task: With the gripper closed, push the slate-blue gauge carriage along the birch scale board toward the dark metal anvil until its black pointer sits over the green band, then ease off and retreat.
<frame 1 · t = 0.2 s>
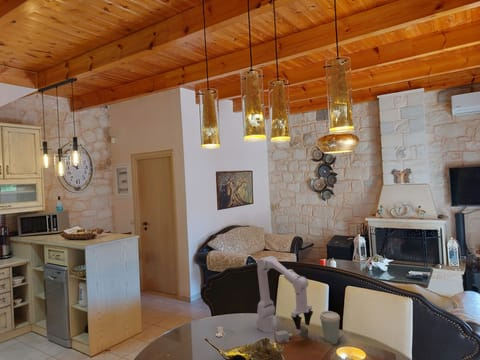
hand: (302, 326, 178), 10 cm above the table, fingers open, 7 cm apart
teacup and saucer: (215, 336, 197), on the table
scale board: (291, 341, 184), on the table
gauge carriage: (285, 336, 182), point 3 cm above the table, slide at 0.0 cm
disposable coffee cup: (331, 342, 180), on the table
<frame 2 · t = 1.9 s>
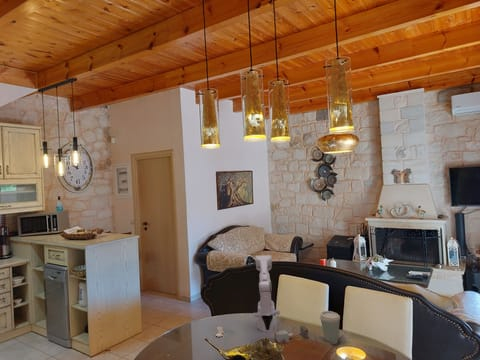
hand: (267, 329, 181), 8 cm above the table, fingers closed
nothing on the table moved.
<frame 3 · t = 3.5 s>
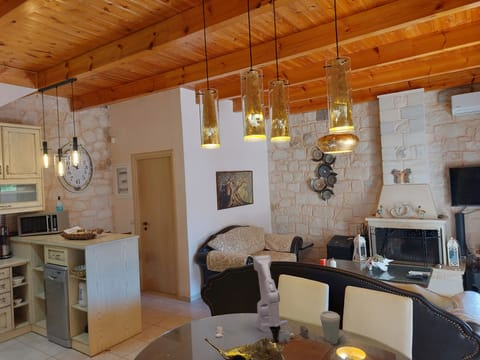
hand: (275, 339, 182), 2 cm above the table, fingers closed
gauge carriage: (286, 336, 182), point 3 cm above the table, slide at 0.6 cm, touching gripper
everything else where it was.
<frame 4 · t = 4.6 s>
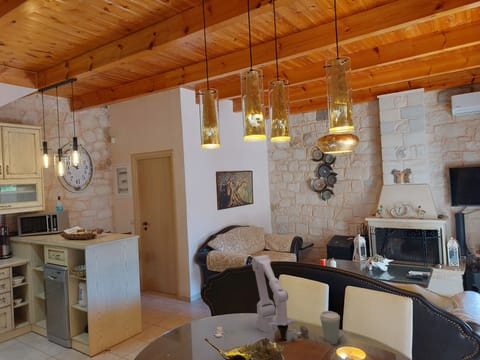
hand: (283, 338, 183), 2 cm above the table, fingers closed
gauge carriage: (294, 335, 183), point 3 cm above the table, slide at 5.1 cm, touching gripper
everything else where it was.
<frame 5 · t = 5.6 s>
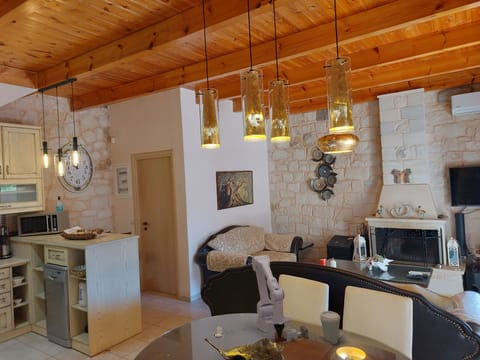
hand: (279, 337, 182), 3 cm above the table, fingers closed
gauge carriage: (294, 335, 183), point 3 cm above the table, slide at 5.1 cm
everything else where it was.
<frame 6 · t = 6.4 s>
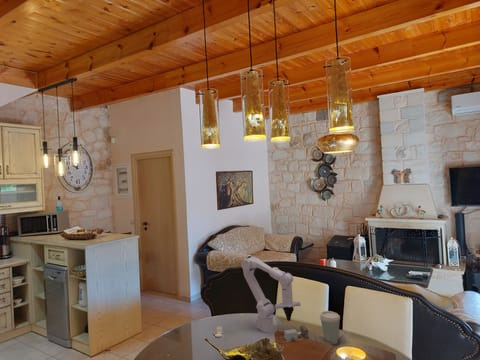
hand: (288, 320, 189), 9 cm above the table, fingers closed
nothing on the table moved.
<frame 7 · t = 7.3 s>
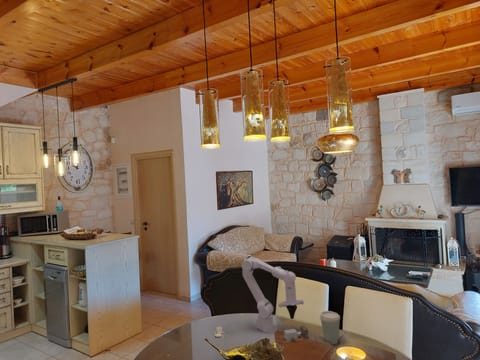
hand: (292, 318, 192), 9 cm above the table, fingers closed
nothing on the table moved.
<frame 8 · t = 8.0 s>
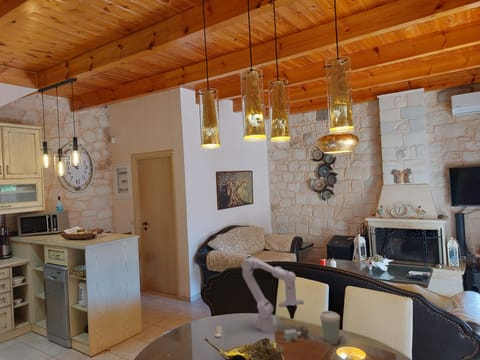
hand: (292, 318, 192), 9 cm above the table, fingers closed
nothing on the table moved.
at the end: gauge carriage slide at 5.1 cm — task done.
